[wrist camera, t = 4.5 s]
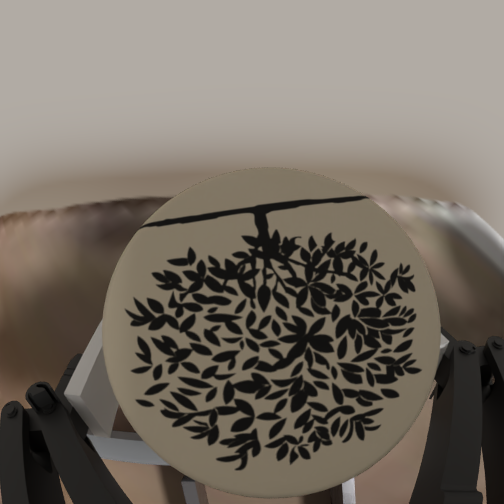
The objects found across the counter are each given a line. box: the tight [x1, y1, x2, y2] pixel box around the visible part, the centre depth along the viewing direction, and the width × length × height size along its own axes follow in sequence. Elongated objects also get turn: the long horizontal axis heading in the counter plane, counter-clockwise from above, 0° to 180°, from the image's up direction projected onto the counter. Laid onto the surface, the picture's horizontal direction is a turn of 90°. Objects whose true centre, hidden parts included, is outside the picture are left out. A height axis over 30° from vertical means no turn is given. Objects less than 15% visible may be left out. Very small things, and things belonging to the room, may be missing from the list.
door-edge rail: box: [87, 429, 169, 465], centre depth 17 cm, size 28×2×3 cm, turn 97°
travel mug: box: [102, 168, 441, 498], centre depth 13 cm, size 8×8×18 cm
